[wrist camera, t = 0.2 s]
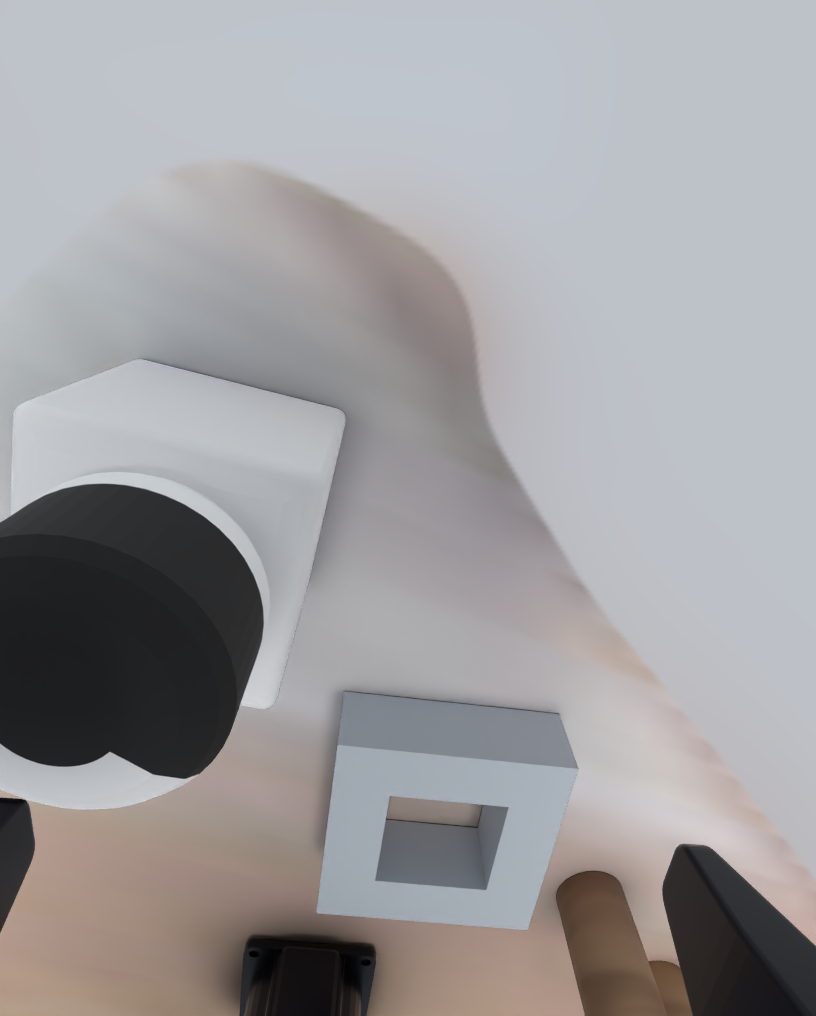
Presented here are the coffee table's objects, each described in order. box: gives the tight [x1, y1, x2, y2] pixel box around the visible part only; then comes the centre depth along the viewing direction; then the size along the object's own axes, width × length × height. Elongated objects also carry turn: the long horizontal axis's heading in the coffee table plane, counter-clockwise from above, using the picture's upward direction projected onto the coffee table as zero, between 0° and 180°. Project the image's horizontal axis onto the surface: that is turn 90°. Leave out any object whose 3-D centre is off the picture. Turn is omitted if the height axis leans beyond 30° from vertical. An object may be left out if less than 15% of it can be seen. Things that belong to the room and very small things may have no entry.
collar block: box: [316, 691, 578, 930], centre depth 26 cm, size 9×9×3 cm
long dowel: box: [556, 871, 668, 1016], centre depth 26 cm, size 3×3×9 cm
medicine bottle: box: [0, 359, 346, 810], centre depth 16 cm, size 7×7×12 cm
